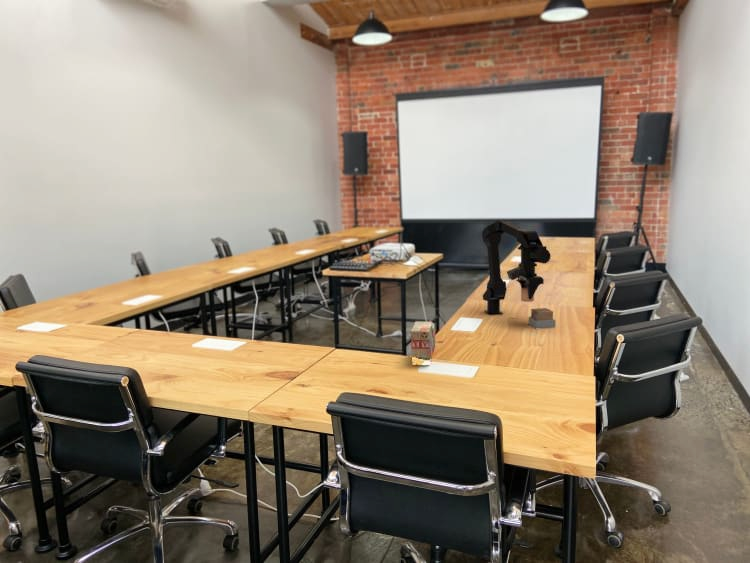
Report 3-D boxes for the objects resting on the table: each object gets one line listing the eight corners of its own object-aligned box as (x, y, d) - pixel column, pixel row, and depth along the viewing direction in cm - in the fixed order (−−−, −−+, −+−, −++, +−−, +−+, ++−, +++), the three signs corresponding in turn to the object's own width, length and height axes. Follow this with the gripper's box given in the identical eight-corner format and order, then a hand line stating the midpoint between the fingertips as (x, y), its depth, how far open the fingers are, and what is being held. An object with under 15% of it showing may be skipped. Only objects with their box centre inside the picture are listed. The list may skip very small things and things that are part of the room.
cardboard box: (418, 346, 203) (418, 314, 201) (435, 347, 202) (435, 315, 200) (411, 365, 183) (410, 330, 181) (430, 366, 182) (429, 330, 179)
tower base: (528, 324, 230) (528, 316, 230) (546, 323, 231) (546, 315, 231) (536, 329, 223) (536, 321, 222) (555, 328, 224) (555, 320, 223)
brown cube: (519, 299, 230) (519, 287, 229) (530, 298, 230) (531, 287, 229) (523, 301, 225) (523, 290, 224) (535, 301, 225) (535, 289, 224)
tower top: (531, 316, 229) (531, 308, 229) (545, 315, 230) (545, 307, 230) (537, 320, 223) (538, 312, 222) (552, 319, 224) (553, 311, 223)
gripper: (501, 259, 233) (501, 295, 236) (517, 264, 215) (517, 303, 217) (526, 258, 234) (526, 293, 237) (544, 263, 216) (543, 301, 218)
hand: (527, 297), depth 227 cm, fingers closed on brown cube, 5 cm apart
